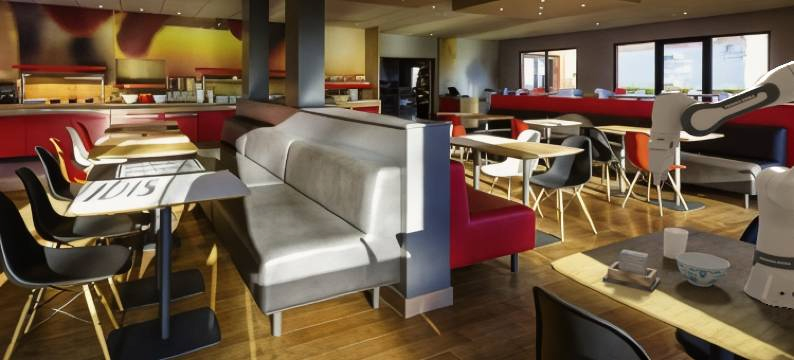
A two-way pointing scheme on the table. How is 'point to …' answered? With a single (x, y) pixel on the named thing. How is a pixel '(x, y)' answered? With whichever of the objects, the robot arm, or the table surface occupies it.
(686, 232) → the white cup
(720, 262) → the chinaware
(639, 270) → the medicine box
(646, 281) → the locating plate
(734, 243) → the table surface
